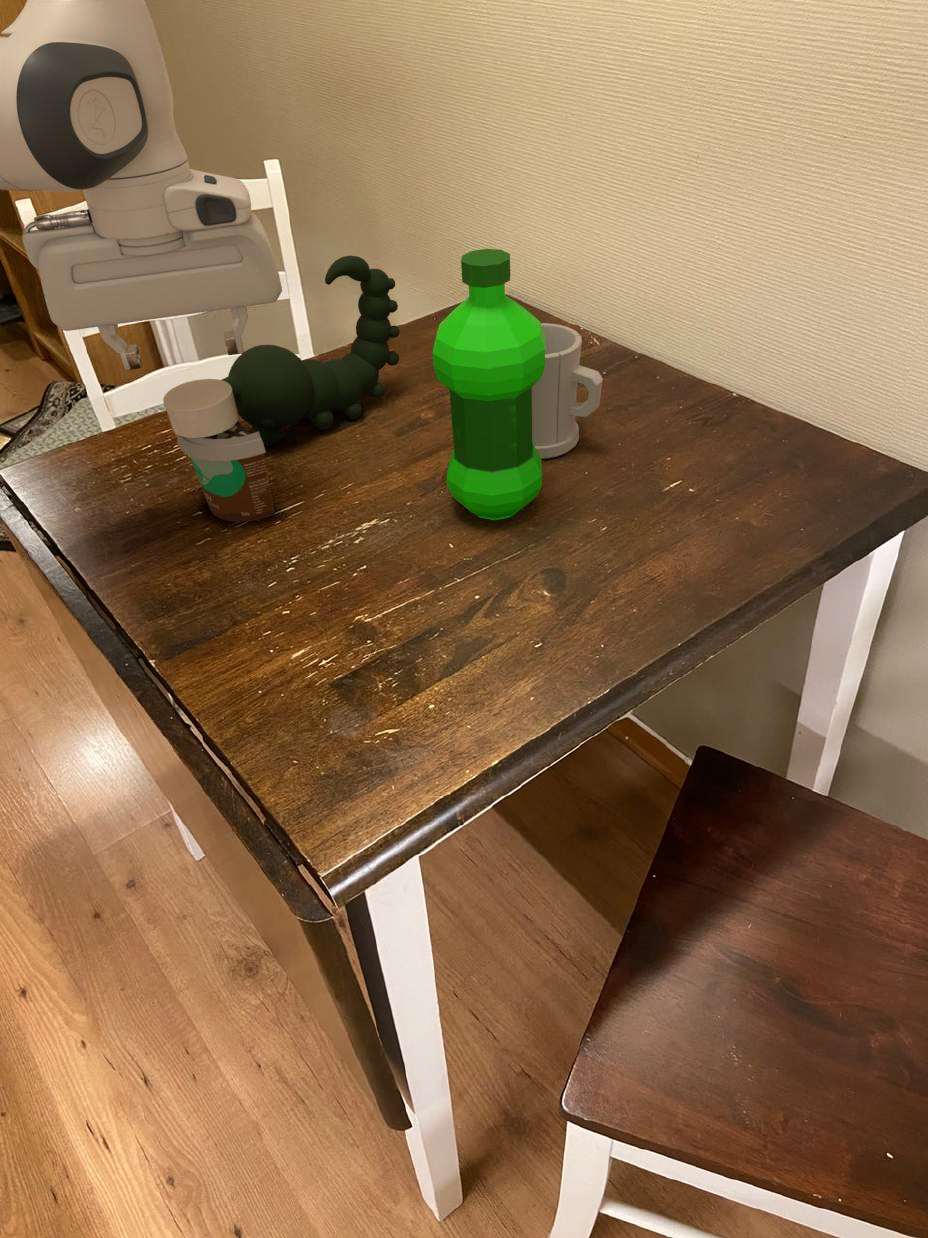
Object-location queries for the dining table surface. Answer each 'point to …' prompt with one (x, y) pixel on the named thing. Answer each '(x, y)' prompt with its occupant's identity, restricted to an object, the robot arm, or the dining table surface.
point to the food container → (232, 473)
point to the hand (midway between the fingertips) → (185, 359)
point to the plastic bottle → (491, 390)
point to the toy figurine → (319, 366)
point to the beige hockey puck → (201, 408)
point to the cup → (561, 393)
